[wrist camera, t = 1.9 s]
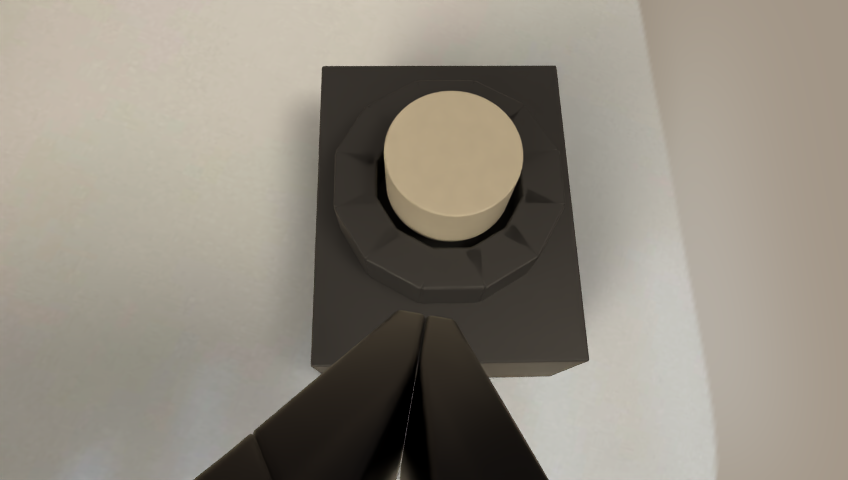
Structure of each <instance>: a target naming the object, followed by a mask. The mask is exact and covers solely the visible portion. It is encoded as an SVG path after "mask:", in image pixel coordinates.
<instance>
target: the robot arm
mask: <svg viewBox="0 0 848 480" xmlns="http://www.w3.org/2000/svg"><path fill="white" fill-rule="evenodd" d="M424 324H425V326H424ZM423 330H424V332H423ZM422 336H423V338H422ZM421 342H422V344H421ZM420 347H421V350H420ZM419 353H420V355H419ZM418 359H419V361H418ZM417 365H418V367H417ZM416 371H417V373H416ZM415 377H416V379H415ZM414 382H415V385H414ZM413 388H414V390H413ZM412 394H413V396H412ZM411 400H412V402H411ZM410 406H411V408H410ZM409 412H410V414H409ZM408 417H409V420H408ZM407 423H408V425H407ZM406 429H407V431H406ZM405 435H406V437H405ZM404 441H405V443H404ZM403 447H404V449H403ZM402 452H403V455H402ZM401 457H402V463H401V471H400V480H549V479H548V478H547V476H546V474H545V473H544V471H543V469H542V468H541V466H540V464H539V462H538V461H537V459H536V457H535V456H534V454H533V452H532V451H531V449H530V447H529V445H528V444H527V442H526V440H525V439H524V437H523V435H522V434H521V432H520V430H519V428H518V427H517V425H516V423H515V422H514V420H513V418H512V417H511V415H510V413H509V411H508V410H507V408H506V406H505V405H504V403H503V401H502V400H501V398H500V396H499V394H498V393H497V391H496V389H495V388H494V386H493V384H492V382H491V381H490V379H489V377H488V376H487V374H486V372H485V371H484V369H483V367H482V365H481V364H480V362H479V360H478V359H477V357H476V355H475V354H474V352H473V350H472V348H471V347H470V345H469V343H468V342H467V340H466V338H465V337H464V335H463V333H462V331H461V330H460V328H459V326H458V325H457V323H456V322H455V321H454V320H453V319H449V318H443V317H437V316H428V317H427V318H426V320H425V316H424V315H423V314H420V313H414V312H408V311H403V310H398V311H396V312H395V313H394V314H392V315H391V316H390V317H389V318H388V319H387V320H385V321H384V322H383V323H382V324H381V325H379V326H378V327H377V328H376V329H375V330H373V331H372V332H371V333H370V334H369V335H367V336H366V337H365V338H364V339H363V340H362V341H360V342H359V343H358V344H357V345H356V346H354V347H353V348H352V349H351V350H350V351H348V352H347V353H346V354H345V355H344V356H342V357H341V358H340V359H339V360H338V361H337V362H335V363H334V364H333V365H332V366H331V367H329V368H328V369H327V370H326V371H325V372H323V373H322V374H321V375H320V376H319V377H318V378H316V379H315V380H314V381H313V382H312V383H310V384H309V385H308V386H307V387H306V388H304V389H303V390H302V391H301V392H300V393H298V394H297V395H296V396H295V397H294V398H293V399H291V400H290V401H289V402H288V403H287V404H285V405H284V406H283V407H282V408H281V409H279V410H278V411H277V412H276V413H275V414H274V415H272V416H271V417H270V418H269V419H268V420H266V421H265V422H264V423H263V424H262V425H260V426H259V427H258V428H257V429H256V430H255V431H254V433H253V434H250V435H248V436H247V437H246V438H244V439H243V440H242V441H241V442H240V443H239V444H237V445H236V446H235V447H234V448H233V449H231V450H230V451H229V452H228V453H227V454H225V455H224V456H223V457H222V458H220V459H219V460H218V461H216V462H215V463H214V464H213V465H211V466H210V467H209V468H208V469H206V470H205V471H204V472H203V473H201V474H200V475H199V476H197V477H196V478H195V479H194V480H396V478H397V475H398V471H399V467H400V462H401Z"/></svg>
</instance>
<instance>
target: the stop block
mask: <svg viewBox="0 0 848 480" xmlns="http://www.w3.org/2000/svg"><path fill="white" fill-rule="evenodd" d="M441 91H461V92H467V93H471V94H475V95H478V96H480V97H483V98H485V99H487V100H489V101H490V102H492V103H494V104H495V105H496V106H498V107H499V108H500V109H501V110H502V111H504V112H505V113H506V114H507V116H508V117H509V118H510V119H511V121H512V122H513V124H514V125H515V127H516V129H517V131H518V133H519V135H520V139H521V142H522V147H523V165H522V170H521V174H520V177H519V179H518V181H517V183H516V186H515V188H514V190H513V192H512V195H511V197H510V199H509V201H508V204H507V206H506V208H505V210H504V212H503V214H502V215H501V217H500V218H499V219H498V221H497V222H496V223H495V224H494V225H493V226H492V227H491V228H489V229H488V230H487V231H485V232H484V233H482V234H480V235H478V236H476V237H473V238H470V239H467V240H462V241H455V242H445V241H437V240H433V239H429V238H426V237H424V236H422V235H419V234H418V233H416V232H414V231H413V230H411V229H410V228H409V227H407V226H406V225H405V224H404V223H403V222H402V221H401V220H400V219H399V218H398V216H397V215H396V213H395V212H394V210H393V208H392V206H391V204H390V201H389V199H388V195H387V189H386V176H385V164H384V143H385V138H386V135H387V132H388V129H389V127H390V125H391V124H392V122H393V120H394V119H395V118H396V116H397V115H398V114H399V113H400V112H401V111H402V110H403V109H404V108H405V107H406V106H407V105H409V104H410V103H412V102H413V101H415V100H417V99H418V98H421V97H423V96H425V95H428V94H432V93H436V92H441ZM398 310H403V311H408V312H414V313H420V314H423V315H424V316H425V320H426V318H427V317H428V316H437V317H443V318H449V319H453V320H454V321H455V322H456V323H457V325H458V326H459V328H460V330H461V331H462V333H463V335H464V337H465V338H466V340H467V342H468V343H469V345H470V347H471V348H472V350H473V352H474V354H475V355H476V357H477V359H478V360H479V362H480V364H481V365H482V367H483V369H484V371H485V372H486V374H487V376H488V377H536V376H552V375H554V374H557V373H559V372H562V371H564V370H567V369H569V368H572V367H574V366H577V365H580V364H582V363H585V362H587V361H589V355H588V346H587V337H586V328H585V319H584V310H583V301H582V292H581V283H580V274H579V266H578V257H577V248H576V239H575V230H574V221H573V212H572V203H571V194H570V185H569V176H568V167H567V158H566V149H565V140H564V131H563V122H562V113H561V105H560V96H559V87H558V78H557V69H556V66H323V67H322V83H321V109H320V136H319V163H318V189H317V216H316V242H315V269H314V295H313V322H312V348H311V367H313V368H314V369H316V370H317V371H319V372H320V373H321V374H322V373H323V372H325V371H326V370H327V369H328V368H329V367H331V366H332V365H333V364H334V363H335V362H337V361H338V360H339V359H340V358H341V357H342V356H344V355H345V354H346V353H347V352H348V351H350V350H351V349H352V348H353V347H354V346H356V345H357V344H358V343H359V342H360V341H362V340H363V339H364V338H365V337H366V336H367V335H369V334H370V333H371V332H372V331H373V330H375V329H376V328H377V327H378V326H379V325H381V324H382V323H383V322H384V321H385V320H387V319H388V318H389V317H390V316H391V315H392V314H394V313H395V312H396V311H398ZM424 326H425V324H424ZM423 332H424V330H423ZM422 338H423V336H422ZM421 344H422V342H421ZM420 350H421V347H420ZM419 355H420V353H419ZM418 361H419V359H418ZM417 367H418V365H417ZM416 373H417V371H416ZM415 379H416V377H415Z"/></svg>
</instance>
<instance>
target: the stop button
mask: <svg viewBox="0 0 848 480" xmlns="http://www.w3.org/2000/svg"><path fill="white" fill-rule="evenodd" d="M384 164H385V176H386V189H387V195H388V199H389V201H390V204H391V206H392V208H393V210H394V212H395V213H396V215H397V216H398V218H399V219H400V220H401V221H402V222H403V223H404V224H405V225H406V226H407V227H409V228H410V229H411V230H413V231H414V232H416V233H418V234H419V235H422V236H424V237H426V238H429V239H433V240H437V241H445V242H455V241H462V240H467V239H470V238H473V237H476V236H478V235H480V234H482V233H484V232H485V231H487V230H488V229H489V228H491V227H492V226H493V225H494V224H495V223H496V222H497V221H498V219H499V218H500V217H501V215H502V214H503V212H504V210H505V208H506V206H507V204H508V201H509V199H510V197H511V195H512V192H513V190H514V188H515V186H516V183H517V181H518V179H519V177H520V174H521V170H522V165H523V147H522V142H521V139H520V135H519V133H518V131H517V129H516V127H515V125H514V124H513V122H512V121H511V119H510V118H509V117H508V116H507V114H506V113H505V112H504V111H502V110H501V109H500V108H499V107H498V106H496V105H495V104H494V103H492V102H490V101H489V100H487V99H485V98H483V97H480V96H478V95H475V94H471V93H467V92H461V91H441V92H436V93H432V94H428V95H425V96H423V97H421V98H418V99H417V100H415V101H413V102H412V103H410V104H409V105H407V106H406V107H405V108H404V109H403V110H402V111H401V112H400V113H399V114H398V115H397V116H396V118H395V119H394V120H393V122H392V124H391V125H390V127H389V129H388V132H387V135H386V138H385V143H384Z"/></svg>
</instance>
